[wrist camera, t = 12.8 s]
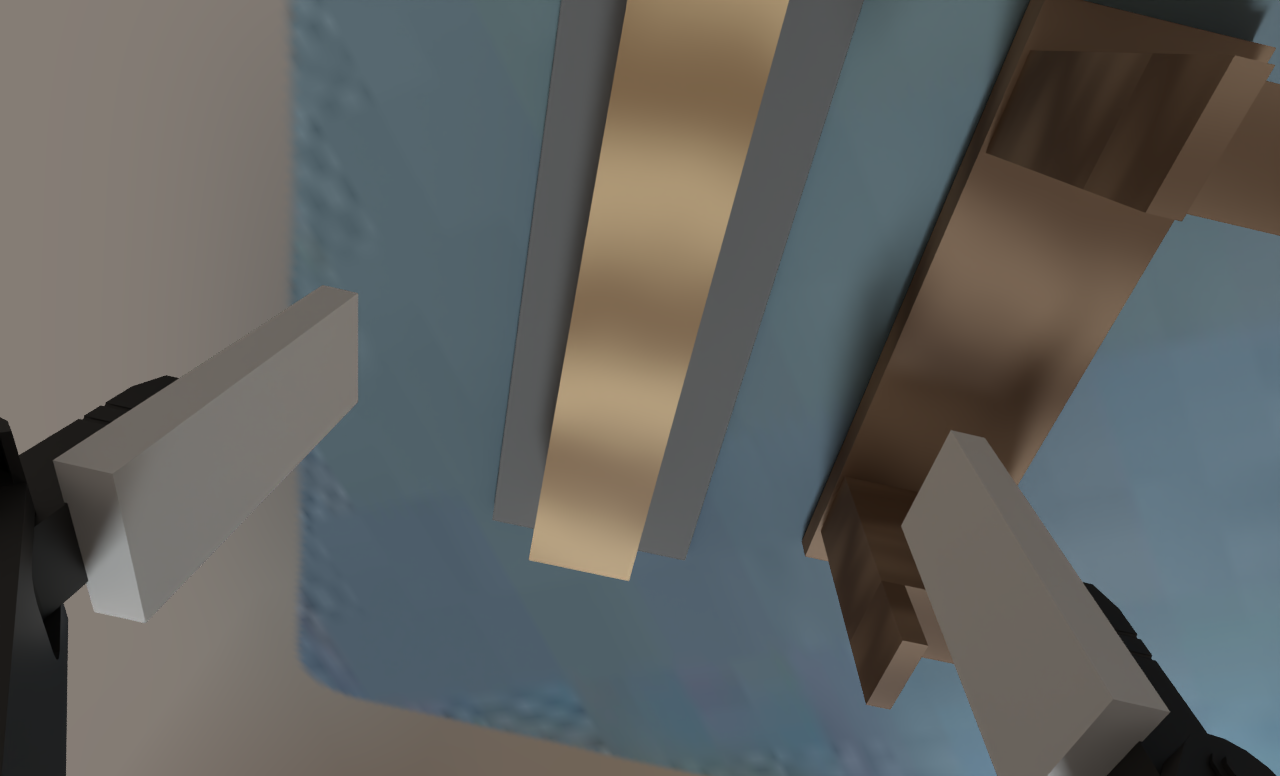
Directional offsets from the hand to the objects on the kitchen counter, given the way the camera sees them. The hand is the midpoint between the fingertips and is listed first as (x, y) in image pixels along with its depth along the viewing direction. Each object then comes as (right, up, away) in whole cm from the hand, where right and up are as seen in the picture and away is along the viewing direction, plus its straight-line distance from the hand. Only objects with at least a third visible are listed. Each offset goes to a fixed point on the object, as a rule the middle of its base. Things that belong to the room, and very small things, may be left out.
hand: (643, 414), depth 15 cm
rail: (0, +5, +10) cm, 11 cm away
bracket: (+13, +2, +11) cm, 17 cm away
